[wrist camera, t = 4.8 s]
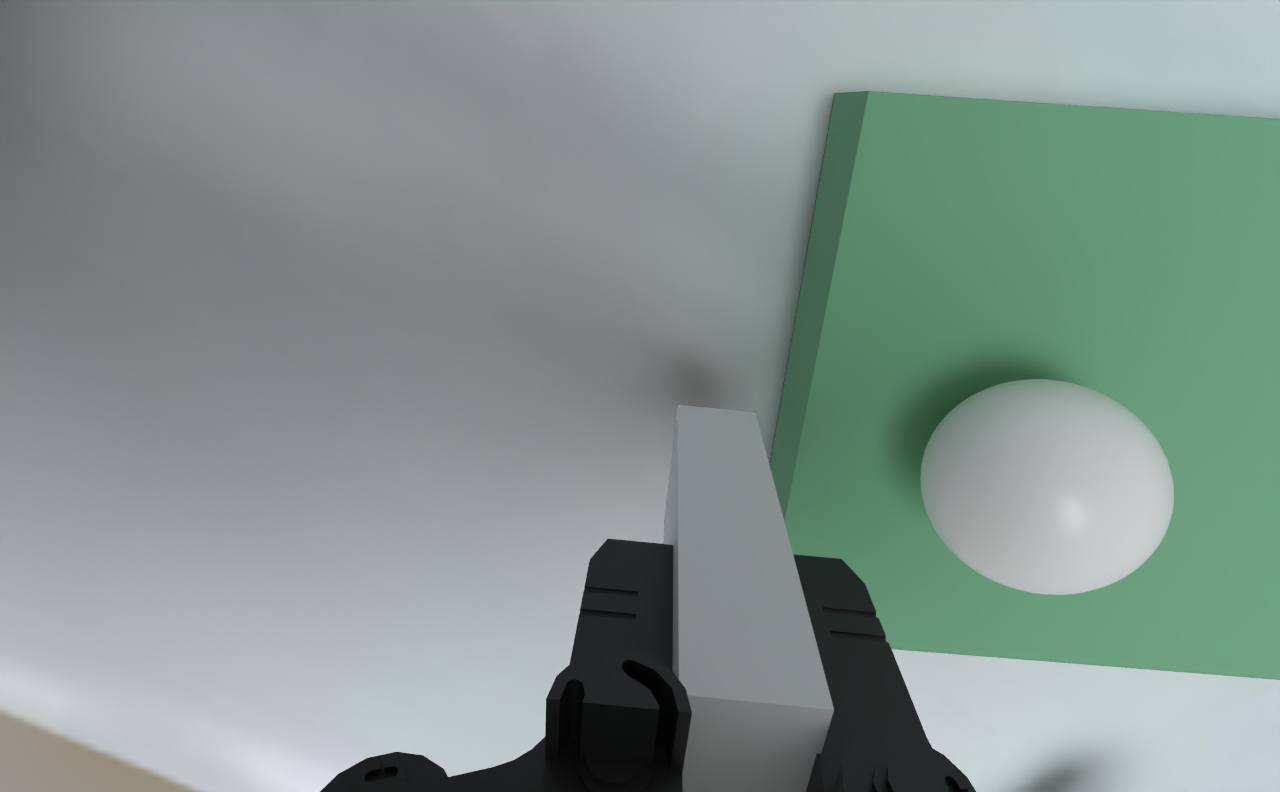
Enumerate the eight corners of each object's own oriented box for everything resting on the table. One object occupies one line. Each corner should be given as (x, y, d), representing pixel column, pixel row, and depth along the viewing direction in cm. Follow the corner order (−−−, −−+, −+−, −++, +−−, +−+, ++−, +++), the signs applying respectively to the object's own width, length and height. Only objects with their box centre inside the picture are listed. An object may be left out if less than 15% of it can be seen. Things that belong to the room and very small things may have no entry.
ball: (875, 502, 15) (943, 635, 11) (918, 340, 13) (1015, 434, 9) (1048, 515, 15) (1174, 653, 11) (1114, 355, 13) (1289, 455, 9)
